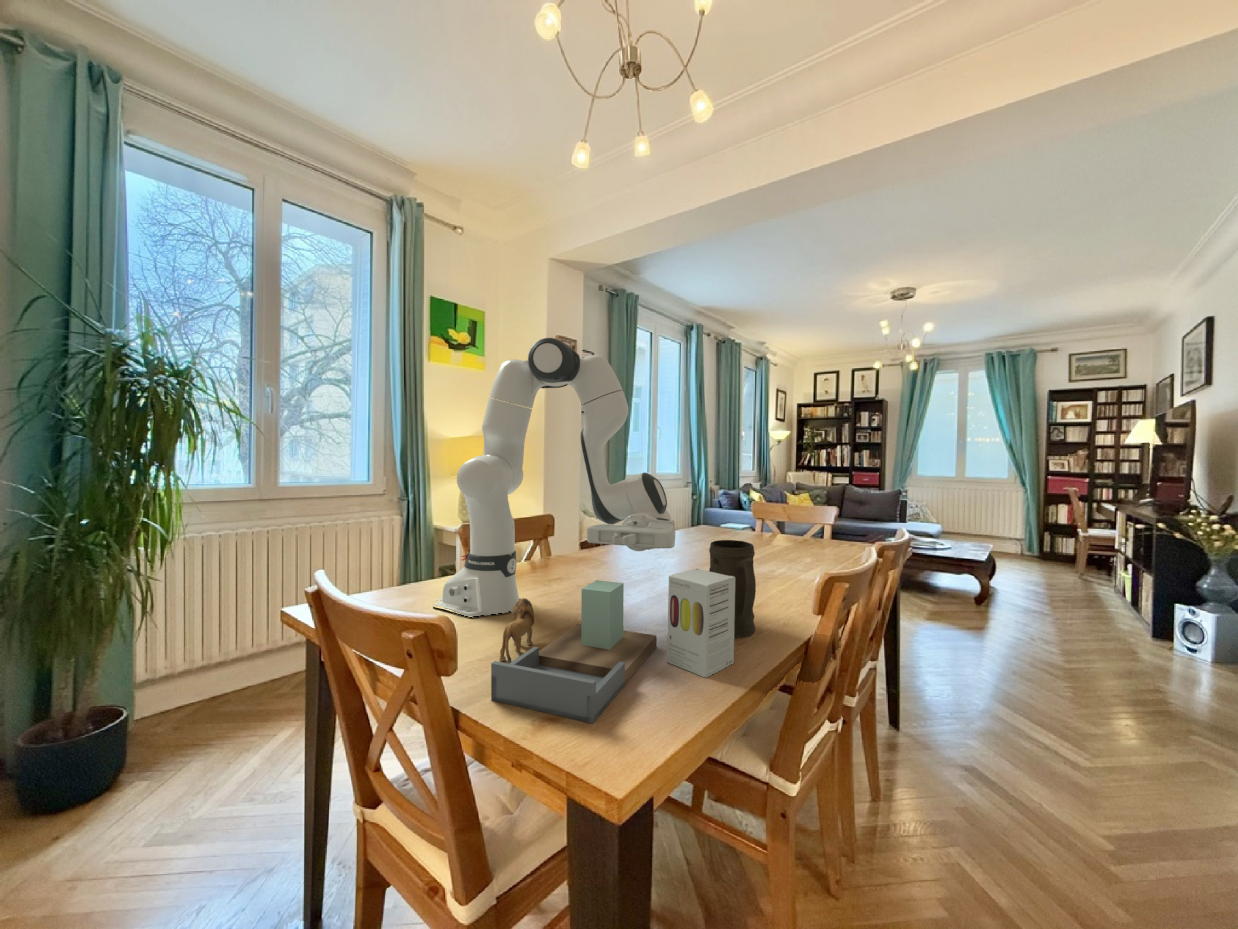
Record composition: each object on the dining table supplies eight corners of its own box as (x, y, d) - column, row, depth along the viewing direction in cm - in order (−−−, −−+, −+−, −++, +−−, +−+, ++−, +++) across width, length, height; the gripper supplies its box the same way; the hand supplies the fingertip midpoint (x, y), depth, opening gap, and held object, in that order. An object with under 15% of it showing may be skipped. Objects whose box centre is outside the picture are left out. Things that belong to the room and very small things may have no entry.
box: (491, 700, 80) (491, 663, 80) (534, 668, 92) (534, 635, 92) (592, 723, 73) (593, 683, 73) (624, 685, 85) (625, 650, 85)
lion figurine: (512, 637, 107) (512, 595, 107) (536, 637, 107) (536, 595, 107) (496, 666, 93) (496, 618, 92) (524, 666, 93) (524, 618, 92)
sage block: (581, 644, 97) (581, 588, 96) (596, 632, 103) (596, 580, 103) (609, 649, 94) (610, 592, 94) (623, 637, 101) (623, 583, 100)
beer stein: (695, 623, 116) (699, 539, 114) (733, 617, 120) (738, 536, 119) (735, 652, 102) (740, 557, 100) (777, 644, 106) (782, 553, 105)
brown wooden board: (534, 668, 92) (534, 654, 92) (577, 635, 109) (578, 623, 108) (624, 685, 85) (624, 671, 85) (656, 647, 102) (656, 635, 102)
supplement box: (665, 662, 95) (666, 574, 94) (694, 649, 101) (695, 567, 101) (707, 679, 88) (708, 584, 87) (735, 663, 94) (736, 575, 94)
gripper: (599, 516, 122) (574, 524, 109) (681, 520, 114) (663, 529, 101) (600, 542, 122) (574, 552, 109) (681, 547, 114) (663, 559, 102)
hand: (618, 541), depth 105 cm, fingers closed
